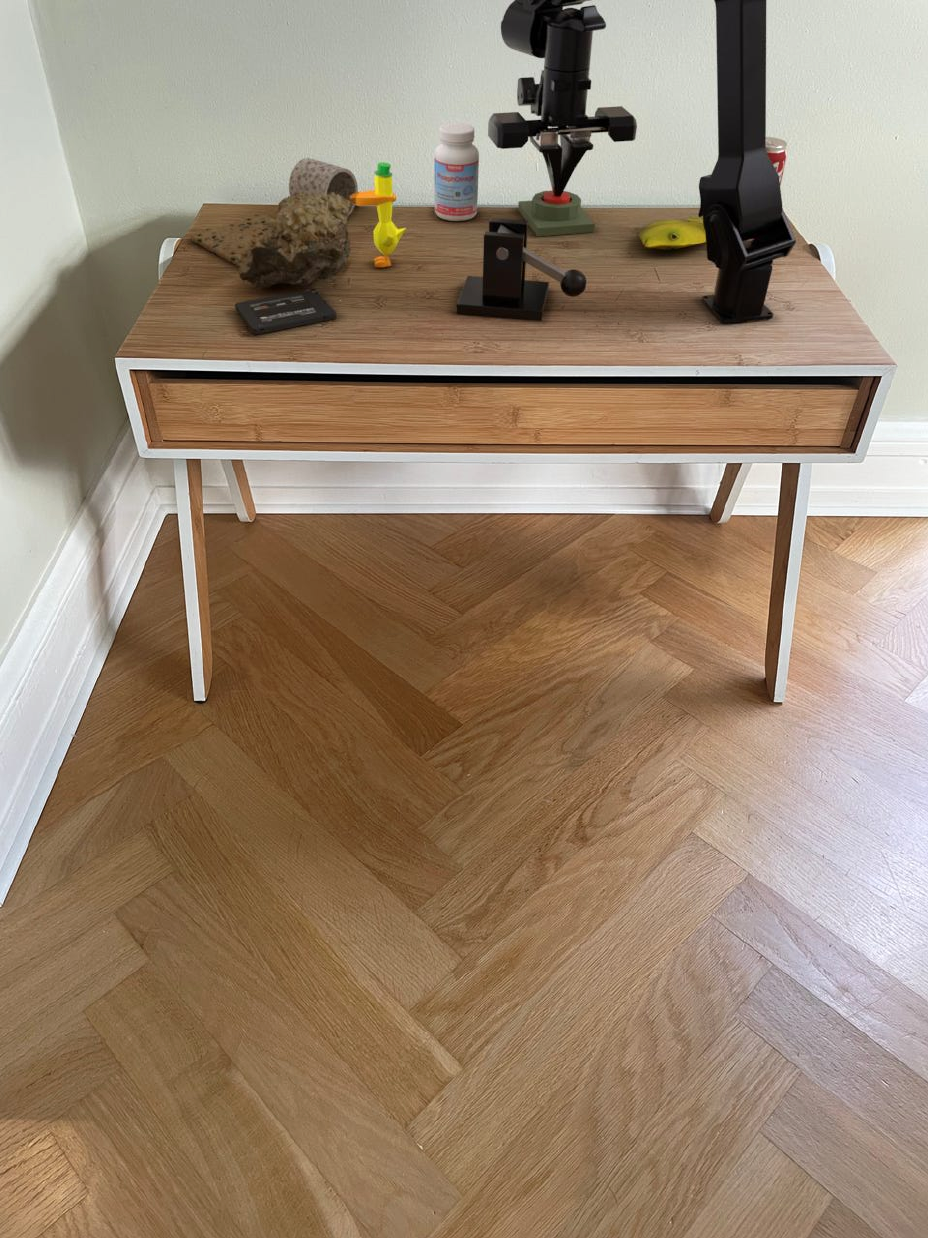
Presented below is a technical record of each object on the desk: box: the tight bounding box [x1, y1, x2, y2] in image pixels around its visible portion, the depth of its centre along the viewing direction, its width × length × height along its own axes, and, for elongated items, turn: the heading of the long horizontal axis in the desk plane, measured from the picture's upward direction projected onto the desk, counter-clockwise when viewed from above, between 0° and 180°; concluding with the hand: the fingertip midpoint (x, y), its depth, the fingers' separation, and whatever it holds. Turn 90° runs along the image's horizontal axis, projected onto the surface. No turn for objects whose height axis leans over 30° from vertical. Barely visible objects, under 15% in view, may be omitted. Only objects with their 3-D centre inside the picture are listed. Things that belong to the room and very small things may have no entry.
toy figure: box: [350, 161, 407, 268], centre depth 116 cm, size 7×4×12 cm, turn 102°
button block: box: [517, 190, 595, 237], centre depth 130 cm, size 10×8×3 cm
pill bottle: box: [433, 122, 480, 222], centre depth 129 cm, size 6×6×11 cm
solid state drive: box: [234, 288, 337, 335], centre depth 109 cm, size 7×10×1 cm
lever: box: [498, 225, 587, 298], centre depth 109 cm, size 12×3×3 cm, turn 81°
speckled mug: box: [288, 157, 359, 218], centre depth 131 cm, size 10×7×7 cm
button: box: [543, 190, 570, 205], centre depth 130 cm, size 4×4×2 cm
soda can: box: [743, 136, 788, 243], centre depth 124 cm, size 5×5×12 cm
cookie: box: [191, 213, 276, 268], centre depth 124 cm, size 12×12×1 cm
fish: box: [638, 216, 706, 251], centre depth 126 cm, size 3×16×10 cm
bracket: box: [456, 218, 550, 322], centre depth 109 cm, size 10×8×9 cm
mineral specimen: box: [234, 192, 352, 290], centre depth 113 cm, size 14×13×10 cm
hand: (557, 195), depth 129 cm, fingers closed, pressing on button
